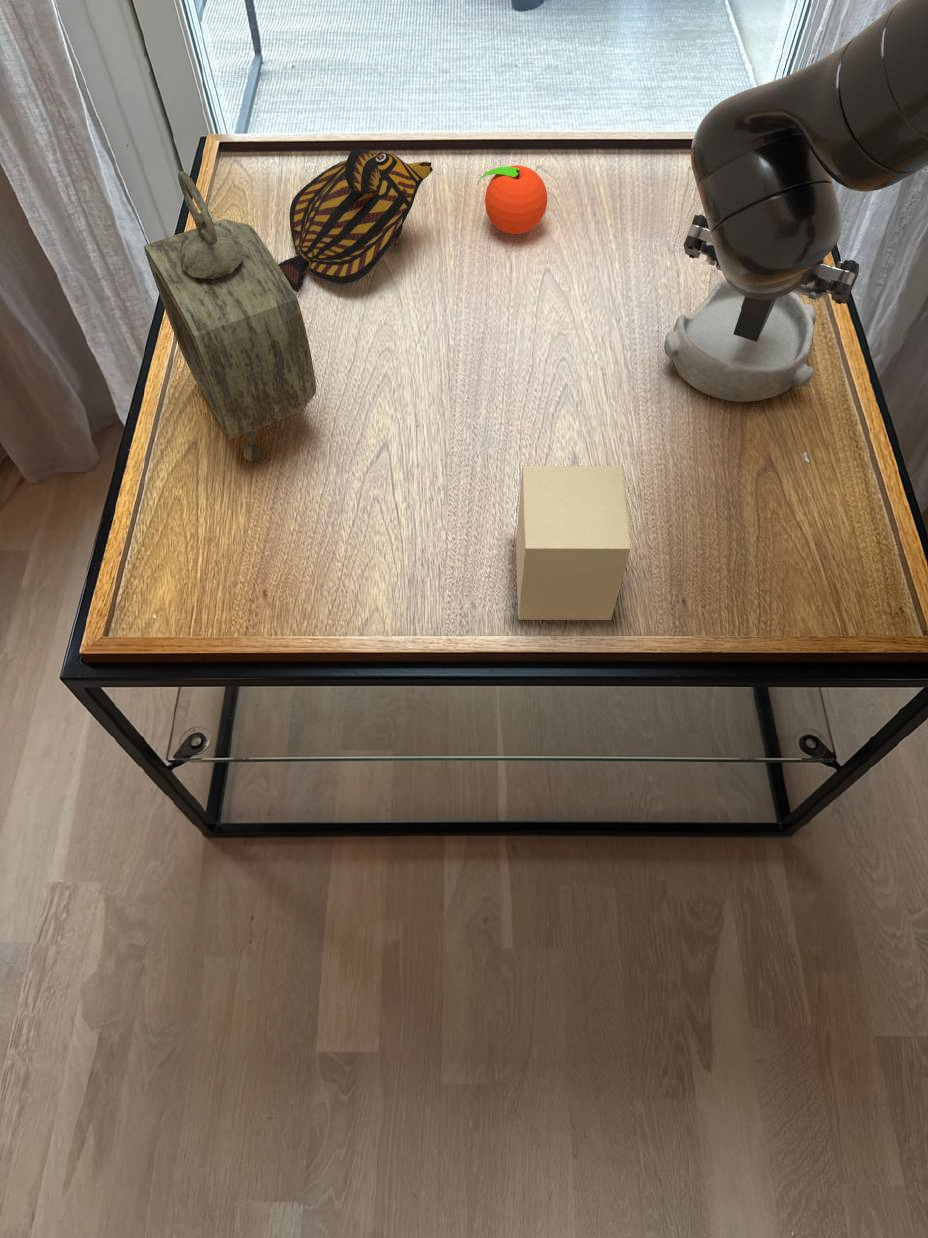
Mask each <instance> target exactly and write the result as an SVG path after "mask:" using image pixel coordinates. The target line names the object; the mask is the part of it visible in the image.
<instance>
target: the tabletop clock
mask: <svg viewBox="0 0 928 1238" xmlns="http://www.w3.org/2000/svg"><path fill="white" fill-rule="evenodd" d="M177 178H178V179H177V180H178V183H179V188H180V190H181V193H182V196H183V198H184V201H185V204H186V206H187V209H188V211H189V213H190V215H191V217H192V220H193V222H194V225H195V228H192V229H190V230H186V231H184V232H181V233H177V234H174V235H172V236H168V237H166V238H162V239H158V240H157V241H154V242H150V243H147V244H144V245H143V249H144V253H145V257H146V259H147V262H148V265H149V268H150V271H151V274H152V277H153V280H154V283H155V286H156V288H157V291H158V294H159V298H160V299H161V303H162V305H163V308H164V311H165V314H166V316H167V319H168V321H169V324H170V326H171V329H172V332H173V334H174V337H175V340H176V343H177V344H178V347H179V350H180V352H181V355H182V356H183V358H184V361H185V363H186V364H187V367H188V369H189V371H190V373H191V375H192V377H193V378H194V380H195V383H196V384H197V386H198V388H199V390H200V392H201V394H202V395H203V397H204V400H205V401H206V403H207V405H208V407H209V408H210V410H211V412H212V414H213V416H214V417H215V419H216V421H217V424H218V425H219V427H220V429H221V431H222V432H223V433H224V436H225V437H226V438H227V439H228V441H230V440H233V439H235V438H238V437H240V436H243V435H245V434H248V444H247V445H245V446H244V448H243V457H244V458H245V459H246V460H247V461H249V462H256V461H257V460H258V459H259V458H260V457H261V454H262V453H261V448H260V447H259V446H258V445H257V444H256V439H257V432H258V429H260V428H262V427H265V426H268V425H271V424H273V423H276V422H279V421H280V420H284V419H286V418H288V417H290V416H293V415H296V414H298V413H301V412H303V411H304V410H305V408H306V407H307V406H308V404H309V403H310V402H311V400H312V399H313V397H314V396H315V395H316V393H317V381H316V375H315V370H314V363H313V357H312V351H311V348H310V344H309V338H308V334H307V329H306V325H305V321H304V317H303V313H302V309H301V306H300V304H299V300H298V297H297V295H296V293H295V290H293V289H292V287H291V285H290V284H289V282H288V280H287V279H286V277H285V275H284V274H283V272H282V270H281V269H280V267H279V266H278V264H279V263H278V262H277V261H276V259H275V258H274V256H273V255H272V253H271V252H270V250H269V249H268V247H267V246H266V244H265V243H264V241H263V240H262V238H261V237H260V236H259V234H258V233H257V232H256V230H255V229H254V228H253V226H252V225H250V224H247V223H244V222H239V221H235V220H231V219H226V218H223V219H222V218H221V219H219V220H216V221H213V219H212V215H211V214H210V211H209V209H208V206H207V204H206V202H205V200H204V198H203V196H202V194H201V192H200V190H199V189H198V186H197V185H196V183H195V182H194V180H193V179H192V178H191V177H190V175H189V174H188V173H187V172H185V171H179V172H178V175H177ZM193 200H194V201H193ZM197 208H198V209H197Z"/></svg>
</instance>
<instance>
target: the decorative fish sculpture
mask: <svg viewBox="0 0 928 1238" xmlns="http://www.w3.org/2000/svg"><path fill="white" fill-rule="evenodd" d="M433 171H434V168H433V167H432V162H431V161H418V162H417V161H416V162H411V163H407V162H405V161H404V160H403V159H401V158H400V157H399V156H397V155H396V154H394V153H391V152H384V151H381V152H375V153H374V152H373V153H372V152H371V151H370V150H367V149H365V148H355V149H352V150H351V151H350V152H349V155H348V157H347V159H344V160H342V161H340V162H339V161H338V163H335V164H334V165H332V166H330V167H329V168H327V169H326V170H324V171H322V172H321V173H320V174H318V175H317V176H316V177H315V178H313V179H312V180H311V181H309V182H308V183H307V184H306V185H304V186H303V187H302V188H301V189H300V190H299V191H298V192H297V193H296V194H295V196H294V197H293V199H292V200H291V203H290V206H289V215H288V216H289V217H288V218H289V227H290V233H291V238H292V245H293V247H294V250H295V251H294V252H295V253H296V256H293V257H289V258H287V259H285V260H283V261H281V262H280V263H277V264H278V266H279V267H280V269H281V270H282V272H283V274H284V275H285V277H286V279H287V280H288V282H289V284H290V285H291V287H292V289H293V291H294V292H298V291H299V290H300V288H301V285H302V282H303V280H304V276H305V271H306V269H308V271H309V272H310V273H311V274H312V275H314V276H315V277H317V278H319V279H321V280H324V281H326V282H329V283H332V284H338V285H348V284H352V283H354V282H357V281H359V280H361V279H362V278H364V277H365V276H367V275H368V274H369V273H370V272H371V271H372V270H373V268H375V267H376V266H377V265H378V263H379V261H380V260H381V259H382V258H383V256H384V255H385V253H386V252H387V251H388V249H389V248H390V246H391V245H392V243H393V242H394V245H393V246H394V248H396V247H397V246H398V244H399V241H400V238H401V236H402V231H403V227H404V223H405V222H406V220H407V218H408V216H409V213H410V211H411V209H412V207H413V205H414V203H415V202H414V201H415V198H416V197H417V193H418V190H419V188H420V186H421V184H422V182H423V181H424V180H425V179H426V178H427V177H429V175H431V174H432V172H433Z"/></svg>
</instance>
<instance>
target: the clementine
mask: <svg viewBox="0 0 928 1238" xmlns="http://www.w3.org/2000/svg"><path fill="white" fill-rule="evenodd" d="M490 175H494V176H493V177H491V178H490V179H491V180H490V181H489V183H488V185H487V187H486V190H485V195H484V206H485V211H486V214H487V217H488V219H489V220H490V222H491V224H493V226H495V227H496V228H497V229H498V230H499V231H501V232H503V233H506V234H510V235H520V234H521V235H522V234H525V233H528V232H530V231H532V230H533V229H534V228H535V227H536V226H538V225H539V224H540V222H541V221H542V219H543V217H544V216H545V214H546V210H547V206H548V201H549V200H548V191H547V188H546V187H547V186H546V185H545V182H544V180H543V179H542V178H541V176H540V175H539V174H538V173H537V172H536V171H535V170H533V169H532V168H530V167H527V166H524V165H515V164H514V165H510V166H499V167H494V168H493V169H490V170H487V171H486V172H485V173H484V174H483V175H482V176H480V178H479V180H478V182H477V184H476V186H478V184H479V183H480V181H481V180H482V179H484V177H487V176H490Z"/></svg>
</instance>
